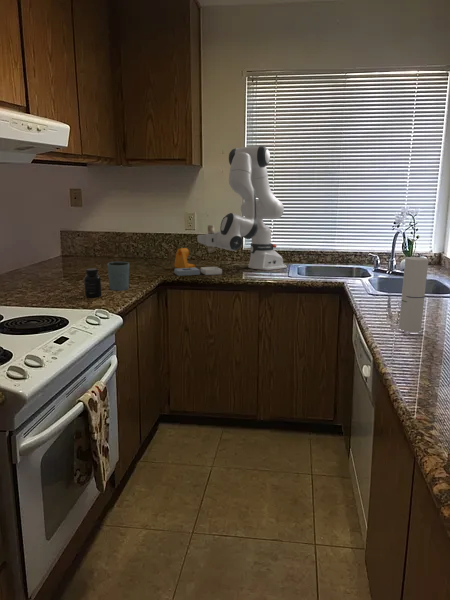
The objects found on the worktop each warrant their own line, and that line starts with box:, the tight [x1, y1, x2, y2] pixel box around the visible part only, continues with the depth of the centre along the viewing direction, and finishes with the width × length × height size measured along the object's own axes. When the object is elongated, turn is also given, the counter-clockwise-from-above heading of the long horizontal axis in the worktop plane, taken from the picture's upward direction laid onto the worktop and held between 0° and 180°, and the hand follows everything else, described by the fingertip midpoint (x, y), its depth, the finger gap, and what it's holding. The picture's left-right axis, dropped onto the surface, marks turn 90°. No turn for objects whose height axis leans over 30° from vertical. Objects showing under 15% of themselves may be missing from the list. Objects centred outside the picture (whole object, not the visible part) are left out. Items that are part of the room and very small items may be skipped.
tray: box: [200, 266, 223, 276], centre depth 269 cm, size 9×9×3 cm
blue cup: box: [106, 261, 130, 292], centre depth 228 cm, size 10×10×12 cm
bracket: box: [173, 247, 196, 269], centre depth 280 cm, size 11×7×12 cm, turn 40°
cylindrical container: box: [398, 256, 429, 332], centre depth 165 cm, size 7×7×25 cm
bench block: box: [173, 266, 201, 277], centre depth 266 cm, size 12×8×2 cm, turn 110°
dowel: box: [207, 224, 215, 253], centre depth 265 cm, size 4×4×14 cm
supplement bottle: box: [83, 267, 103, 299], centre depth 212 cm, size 7×7×12 cm
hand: (210, 236), depth 265 cm, fingers closed on dowel, 4 cm apart
